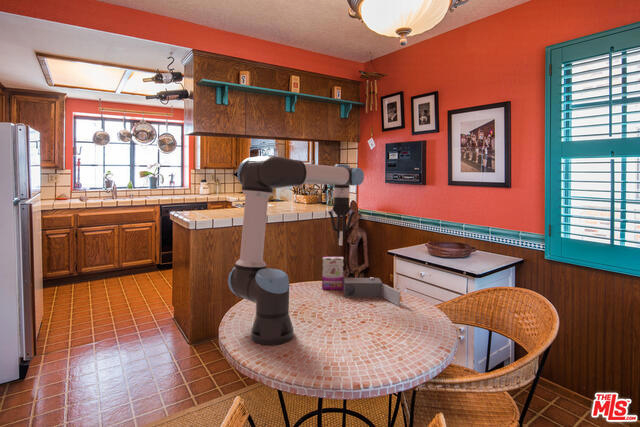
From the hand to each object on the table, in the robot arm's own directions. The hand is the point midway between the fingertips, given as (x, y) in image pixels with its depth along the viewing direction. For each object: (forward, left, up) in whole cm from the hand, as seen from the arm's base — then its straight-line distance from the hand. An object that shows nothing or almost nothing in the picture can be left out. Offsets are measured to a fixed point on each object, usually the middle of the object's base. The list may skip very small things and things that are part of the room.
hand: (340, 244), depth 175 cm
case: (+11, -1, -24) cm, 27 cm away
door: (+23, -12, -24) cm, 35 cm away
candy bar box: (-3, +8, -25) cm, 26 cm away
